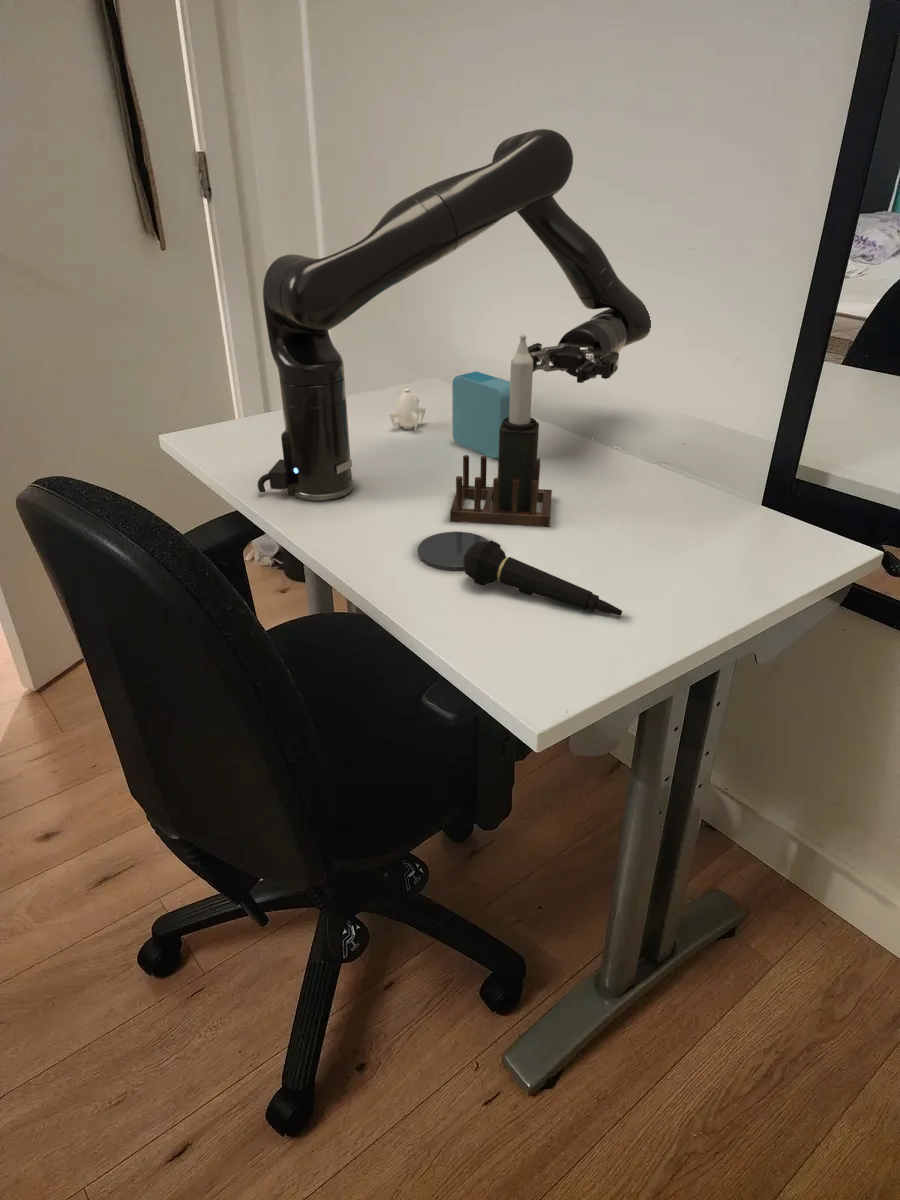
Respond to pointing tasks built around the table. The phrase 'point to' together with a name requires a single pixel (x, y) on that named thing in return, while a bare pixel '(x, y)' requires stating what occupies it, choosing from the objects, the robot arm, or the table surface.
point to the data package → (479, 411)
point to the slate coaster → (447, 549)
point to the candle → (518, 434)
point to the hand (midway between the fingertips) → (551, 372)
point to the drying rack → (493, 497)
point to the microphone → (527, 578)
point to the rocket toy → (408, 410)
